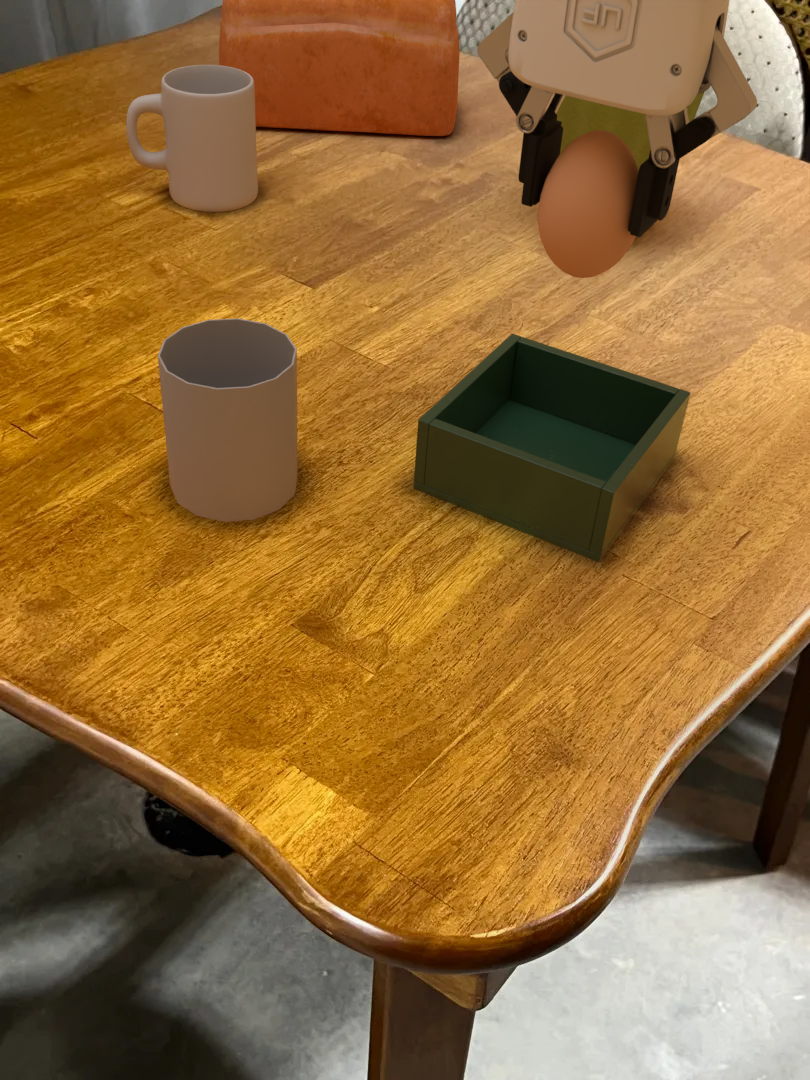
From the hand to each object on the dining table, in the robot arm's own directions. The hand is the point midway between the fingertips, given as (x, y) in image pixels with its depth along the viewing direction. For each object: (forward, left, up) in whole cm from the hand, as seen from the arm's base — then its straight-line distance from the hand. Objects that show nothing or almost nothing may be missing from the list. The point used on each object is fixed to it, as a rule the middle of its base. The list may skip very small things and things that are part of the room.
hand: (590, 209), depth 65 cm
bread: (+50, -51, -20) cm, 75 cm away
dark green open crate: (+1, -2, -20) cm, 21 cm away
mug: (+49, -24, -20) cm, 58 cm away
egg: (0, 0, -4) cm, 4 cm away
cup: (+18, +11, -20) cm, 29 cm away
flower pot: (+14, -41, -20) cm, 48 cm away
